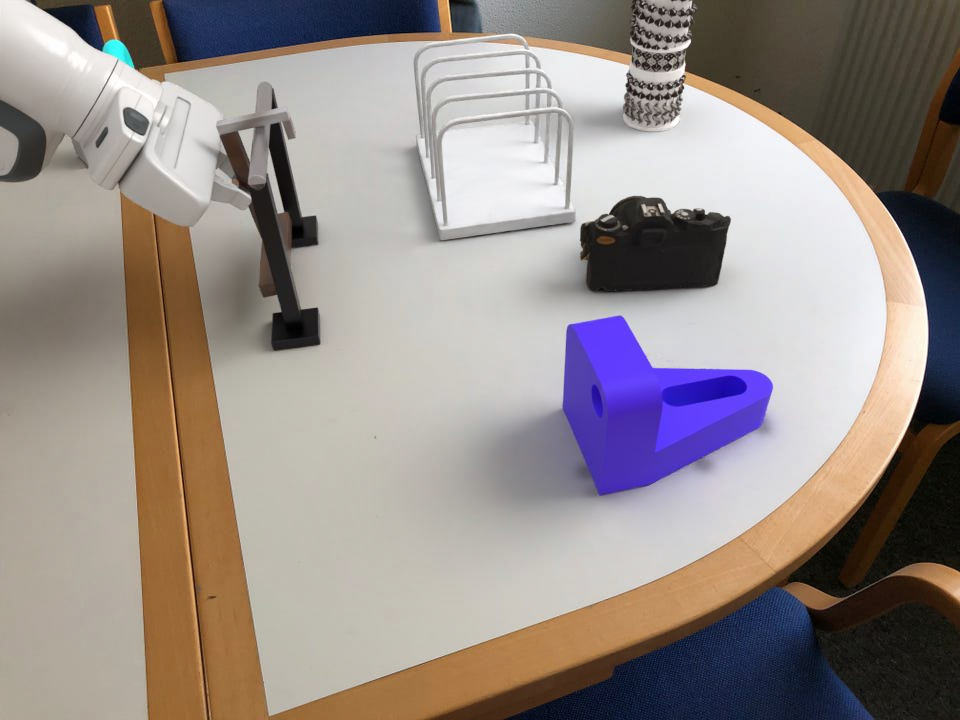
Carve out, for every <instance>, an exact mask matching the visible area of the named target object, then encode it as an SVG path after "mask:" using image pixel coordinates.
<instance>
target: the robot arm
mask: <svg viewBox="0 0 960 720" xmlns="http://www.w3.org/2000/svg"><path fill="white" fill-rule="evenodd" d="M220 120H225V115H224V114H223V113H222V112H221V111H220V110H219V109H218V108H217V107H216V106H214V104H211V103H210V102H208V101H206V100H205V99H203V98H202V97H200V96H198V95H196V94H194V93H193V92H191V91H189V90H187V89H185V88H184V87H181V86H180V85H178V84H176V83H173V82H170V81H167V80H166V81H162V82H160V81H159V80H157V79H154V78H152V79H150V78H149V77H148V76H146V75H144V74H143V73H142V72H140V71H138V70H136V68H135V67H134V68H132V67H130V66H129V65H127V64H126V63H124V62H123V61H121V60H119V59H118V58H116V57H114V56H112V55H110V54H107V53H104V52H102V51H101V50H99V49H98V48H94V47H93V46H92V45H90V44H88V43H87V42H86V41H85V40H84V39H83V38H82V37H81V36H79V34H78V33H77V32H76V31H75V30H73V29H72V27H70V26H69V25H67V24H65V23H64V22H63V21H60V20H59V19H58V18H56V17H55V16H53V15H51V14H49V13H48V12H46V11H44V10H43V9H41V8H39V6H38V7H36V6H35V5H33V4H32V3H31V1H30V0H0V182H1V183H25V182H28V181H31V180H34V179H35V178H37V177H38V176H39V175H40V173H41V172H43V171H44V170H45V168H46V167H47V166H49V164H50V162H51V160H52V158H53V157H54V155H55V153H56V151H57V149H58V147H59V146H60V144H61V143H62V142H63V140H64V138H65V136H67V137H69V138H70V139H71V138H72V139H74V140H76V141H77V142H79V143H81V144H83V145H84V146H83V150H84V152H85V155H86V158H87V162H88V165H87V167H88V173H89V176H90V179H91V181H92V182H93V184H96V185H97V186H99V187H101V188H103V189H105V190H107V191H113V190H114V189H115V188H116V187H117V186H118V189H119V191H120V193H122V195H123V196H124V197H125V198H127V199H128V200H129V201H131V202H132V203H134V204H135V205H137V206H139V207H140V208H142V209H144V210H145V211H148V212H150V213H152V214H153V215H156V216H158V217H159V218H161V219H163V220H165V221H167V222H168V223H171V224H173V225H175V226H178V227H184V228H185V227H186V228H192V227H193V228H194V227H195V226H196V224H197V223H198V222H199V221H200V219H201V218H202V217H203V216H204V215H205V213H206V212H207V210H208V209H209V207H210V205H211V201H212V202H217V203H223V204H229V205H231V206H233V207H235V208H236V209H238V210H239V211H245V210H247V209H248V208H249V207H248V206H249V205H250V203H251V201H252V200H251V196H250V192H249V190H247V189H245V188H244V187H243V186H241V185H240V184H239V183H238V180H237V178H236V176H235V173H234V171H233V168H232V166H231V163H230V161H229V158H228V156H227V154H226V151H225V149H224V146H223V144H221V142H222V141H221V139H220V135H219V133H218V130H217V128H216V124H217V121H220ZM72 139H71V140H72ZM218 169H219V170H220V171H221V172H223V174H225V175H226V176H227V177H229V178H230V179H231V184H229V183H226V182H224V179H223V177H221V176H219V175H217V174H216V171H217V170H218ZM232 184H233V185H232Z"/></svg>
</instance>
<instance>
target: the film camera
mask: <svg viewBox="0 0 960 720" xmlns="http://www.w3.org/2000/svg"><path fill="white" fill-rule="evenodd" d="M663 199H664V198H661V197H646V196H644V195H643V196H642V195H631V196H628V197H625V198H623V199H621V200H619V201H618V202H616V203H615V204H614V205H613V206H612V208H611V209H610V211H609V213H603V214H601V215H600V216H599V217H598V218H596V219H595V220H591V221H590V220H589V221H587V222H583V223H581V225H580V228H579V229H580V230H579V237H580V238H579V242H580V247H581V251H580V253H579V258H580V261H586V273H585V281H586V285H587V286H586V287H587V288H588V289H589V290H591V291H594V292H597V291H598V292H599V291H600V289H604V290H605V291H607V292H624V291H640V290H641V291H642V290H643V291H646V290H663V289H665V290H668V289H679V288H686V289H688V288H704V287H709V286H715V285H718V283H719V280H720V276H721V272H722V271H721V270H722V266H723V261H724V255H725V250H726V247H727V240H728V232H729V229H730V226H731V222H732V218H731V216H729V215H725V216H724V215H722V213H720V212H717V211H716V212H714V211H709V212H708V213H707V214H706V210H705V209H704V208H701V207H699V208H698V207H697V208H693V210H691V209H689V208H679V209H676V210H675V211H674V212H673V213H672V212H671V209H669V208H668V206H667V203H666V201H664V200H663Z"/></svg>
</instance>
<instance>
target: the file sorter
mask: <svg viewBox="0 0 960 720" xmlns="http://www.w3.org/2000/svg"><path fill="white" fill-rule="evenodd" d="M505 40H515V41H518V42H520V43H521V44H522V45H523V47H524V48H519V49H508V50H507V49H506V50H505V49H504V50H496V51H485V52H475V53H474V52H473V53H466V54H465V53H464V54H455V55H454V54H453V55H445V56H437V57H435V58H432V59H430V60H429V61H427V62H426V64H425V65H424V67H423V68H422V70H421V73H420V76H419V66H418V65H419V59H420V57H421V55H422V54H423V53H424V52H425V51H427V50H429V49H435V48H441V47H442V48H443V47H453V46H459V45H468V44H469V45H470V44H477V43H487V42H496V41H505ZM521 55H523V56H524V55H525V58H524V59H525V67H524V68H513V69H501V70H500V69H499V70H490V71H488V70H487V71H476V72H467V73H466V72H465V73H457V74H456V73H454V74H445V75H442V76H439V77H437V78H435V79H434V80H433V81H432V82H431V83H430V85H429V86H428V88H426V76H427V74H428V72H429V70H430V69H431V68H432V67H433V66H435V65H437V64H440V63H447V62H458V61H466V60H468V61H469V60H476V59H478V60H479V59H488V58H497V57H509V56H510V57H511V56H521ZM530 58H532V59H533V61H534V62H535V66H536V67H531V64H530ZM541 65H542V64H541V60H540V59H539V57H538V56H537V54H536V53H535V52H533V51H532V50H530V47H529V44H528V42H527V41H526V39H525V38H524V37H522V36H521V35H519V34H516V33H505V34H504V33H503V34H496V35H486V36H476V37H469V38H468V37H467V38H458V39H450V40H443V41H441V40H440V41H433V42H428V43H425V44H423V45H421V47H419V48H418V49H417V51H416V52H415V54H414V57H413V73H414V83H415V85H414V86H415V94H416V103H417V114H418V121H419V134H416V135H415V142H416V143H415V144H416V148H417V152H418V156H419V159H420V160H419V161H420V164H421V167H422V171H423V176H424V179H425V185H426V188H427V192H428V195H429V196H428V197H429V200H430V204H431V209H432V213H433V218H434V221H435V225H436V229H437V233H438V234H437V235H438V238H439V240H440V241H446V240H454V239H455V240H456V239H461V238H467V237H476V236H480V235H489V234H494V233H495V234H496V233H503V232H509V231H511V232H512V231H517V230H524V229H531V228H540V227H545V226H547V227H548V226H554V225H561V224H569V223H574V222H576V221H577V219H576V217H577V216H576V215H577V214H576V213H577V210H576V208H575V206H574V204H573V202H572V200H571V189H572V171H573V170H572V169H573V152H574V131H575V130H574V120H573V118H572V116H571V115H570V114H569V112H567V111H566V110H565V109H564V107H563V101H562V98H561V96H560V94H559V93H557V91H555V90H554V89H553V84H552V79H551V78H550V76H549V75H548V74H547V72H546V71H544V70H543V69H542V66H541ZM530 74H533V75H534V74H535V75H536V84H535V87H531V88H530V78H531V77H530V76H531V75H530ZM517 75H518V76H519V75H525V88H520V89H519V88H518V89H507V90H500V91H499V90H497V91H488V92H487V91H486V92H477V93H466V94H455V95H454V94H453V95H449V96H446V97H444V98H442V99H441V100H440V101H439V102H437V104H436V105H434V107H433V110H432V95H433V92H434V90H435V88H436V87H438V85H440V84H443V83H445V82H452V81H460V80H461V81H462V80H463V81H464V80H472V79H482V78H483V79H484V78H494V77H495V78H496V77H506V76H507V77H508V76H517ZM542 78H544V80H545V82H546V87H541V85H542V84H541V83H542ZM426 89H427V91H426ZM541 94H546V107H541ZM530 95H535V106H534V107H535V108H532V109H530ZM517 96H525V109H523V110H513V111H506V112H497V113H488V114H480V115H479V114H478V115H472V116H471V115H470V116H463V117H458V118H454V119H451V120H449V121H447V122H446V123H445V124H443V126H442V127H441V128H440V129H439V131H438V130H437V116H438V113H439V111H440V110H441V108H443V107H444V106H445V105H447V104H449V103H453V102H463V101H464V102H465V101H474V100H485V99H496V98H505V97H507V98H508V97H517ZM553 98H554V99H555V100H556V103H557V106H552V102H553V101H552V99H553ZM552 114H557V121H556V123H557V124H556V141H555V142H556V143H555V158H554V162H553V160H552V157H551V156H550V154H549V152H550V139H551V138H550V134H551V120H552V119H551V116H552ZM540 115H545V134H544V142H543V140H542V138H541V135H540ZM530 116H534V120H533V121H532V120H530ZM520 117H525V118H524V119H525V120H522V121H515V122H507V123H497V124H490V125H481V126H473V127H466V128H465V127H464V128H458V129H452V128H453V127H454V126H458V125H463V124H472V123H480V122H486V121H487V122H488V121H494V120H495V121H496V120H504V119H511V118H512V119H513V118H520ZM563 117H564V118H565V119H566V121H567V125H568V133H567V134H568V135H567V157H566V158H567V159H566V173H565V174H566V175H565V176H566V177H565V178H566V179H565V182H566V183H565V185H564V183H563V181H562V179H561V177H560V164H561V163H560V162H561V148H562V147H561V145H562V132H563V131H562V130H563Z"/></svg>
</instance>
